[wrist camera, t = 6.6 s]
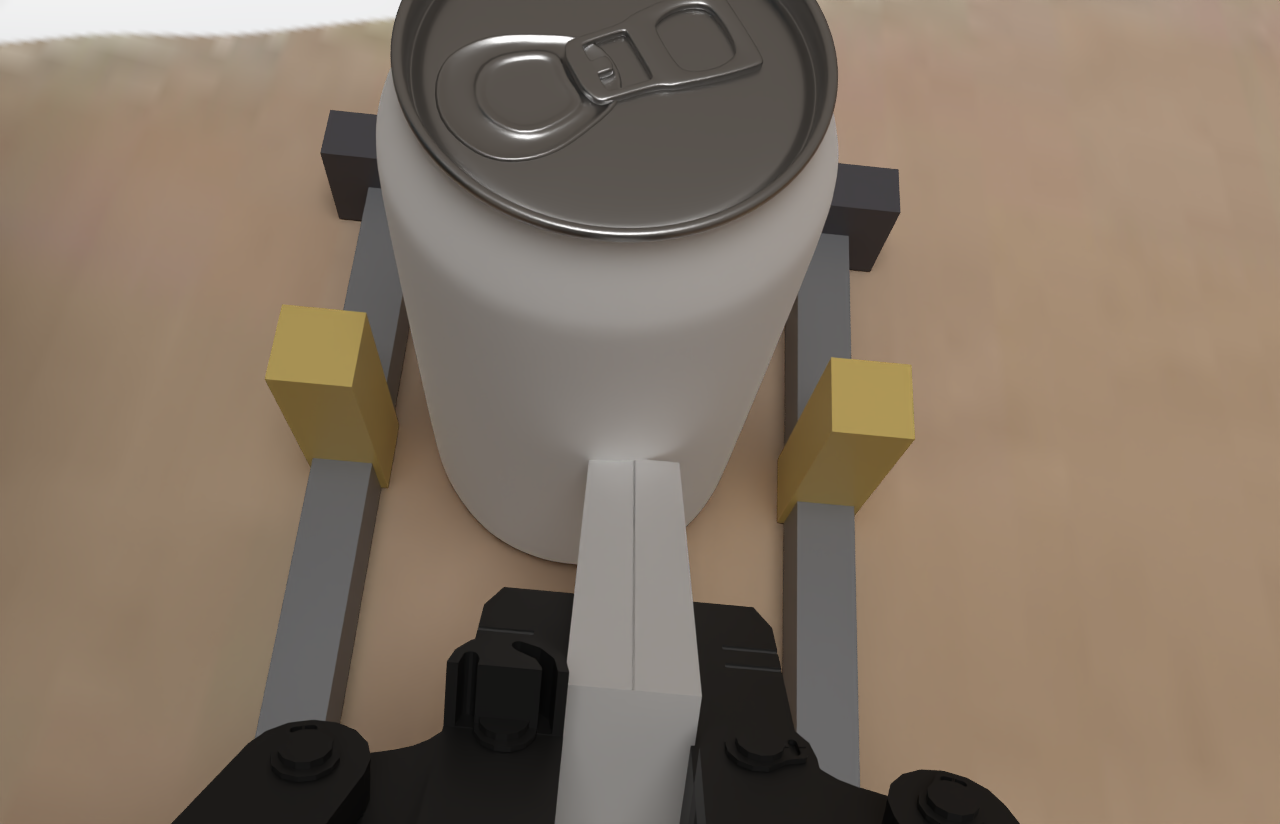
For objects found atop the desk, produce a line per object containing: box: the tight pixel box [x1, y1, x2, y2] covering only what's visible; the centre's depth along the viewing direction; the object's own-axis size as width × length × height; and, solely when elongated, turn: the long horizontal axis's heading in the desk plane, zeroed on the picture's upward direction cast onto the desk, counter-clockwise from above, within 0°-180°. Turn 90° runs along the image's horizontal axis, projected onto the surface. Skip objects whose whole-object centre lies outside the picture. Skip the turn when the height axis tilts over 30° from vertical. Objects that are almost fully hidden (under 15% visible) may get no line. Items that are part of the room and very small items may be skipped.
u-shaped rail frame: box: [255, 110, 915, 787], centre depth 21 cm, size 13×19×5 cm
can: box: [376, 0, 838, 564], centre depth 19 cm, size 6×6×12 cm
